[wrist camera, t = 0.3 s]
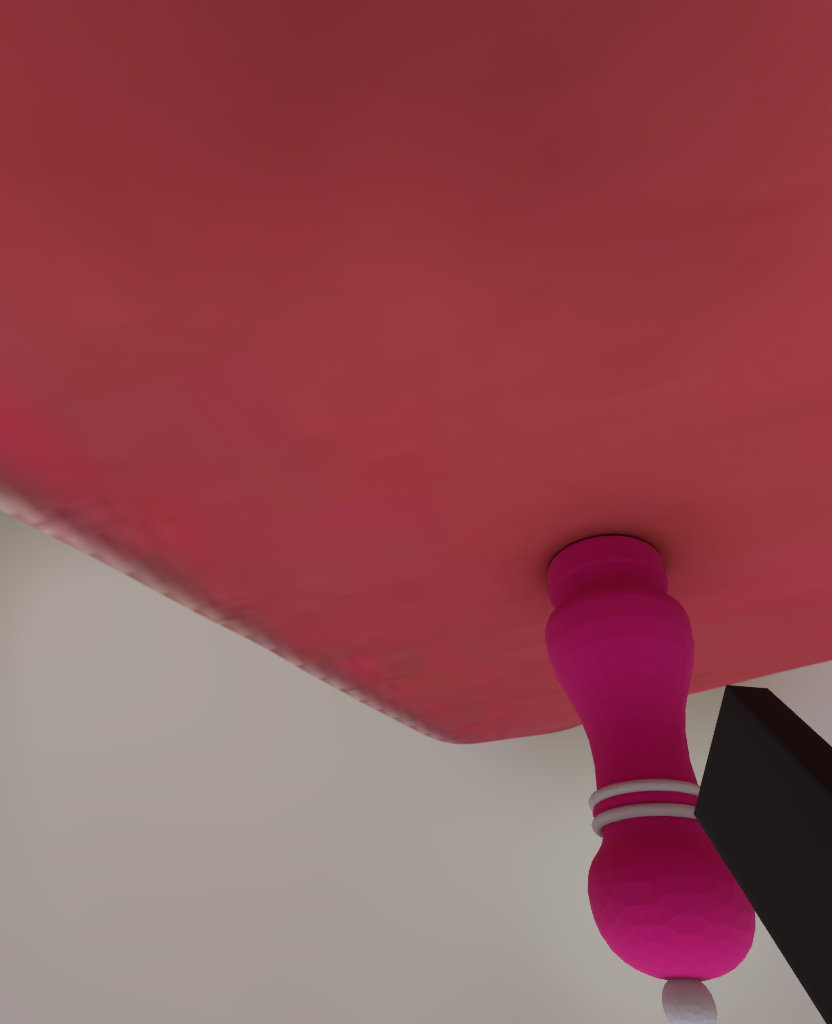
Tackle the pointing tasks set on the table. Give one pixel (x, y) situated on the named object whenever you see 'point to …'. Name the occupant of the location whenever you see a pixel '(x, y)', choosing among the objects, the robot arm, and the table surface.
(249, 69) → the table surface
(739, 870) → the robot arm
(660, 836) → the pepper mill
